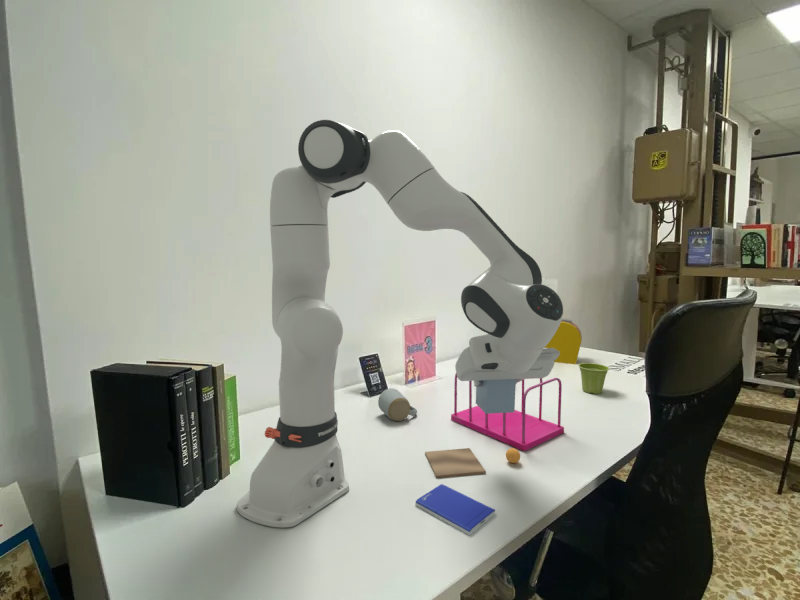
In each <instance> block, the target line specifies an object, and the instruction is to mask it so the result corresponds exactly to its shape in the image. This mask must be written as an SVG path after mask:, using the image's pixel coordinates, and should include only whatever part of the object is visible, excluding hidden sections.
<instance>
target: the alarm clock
mask: <svg viewBox="0 0 800 600" xmlns="http://www.w3.org/2000/svg"><path fill="white" fill-rule="evenodd" d="M581 345H582V332H581V330H580V328H579V327H578V325H577V324H575V323H574V322H573V320H571V319H569V318H563V317H562V320H561V323H560V325H559V327H558V329H557V331H556V333H555V334H554V336H553V337H552V339H551V340H550V342H549V343H548V344H547V345H546V346H545V347H544V348H555V349H556V350H558V351H559V352H560V355H559V356H558V358H557V359H556V360H554V363H557V364H558V363H560V364H569V365H577V361H578V357H579V354H580V353H579V352H580V348H581Z"/></svg>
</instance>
